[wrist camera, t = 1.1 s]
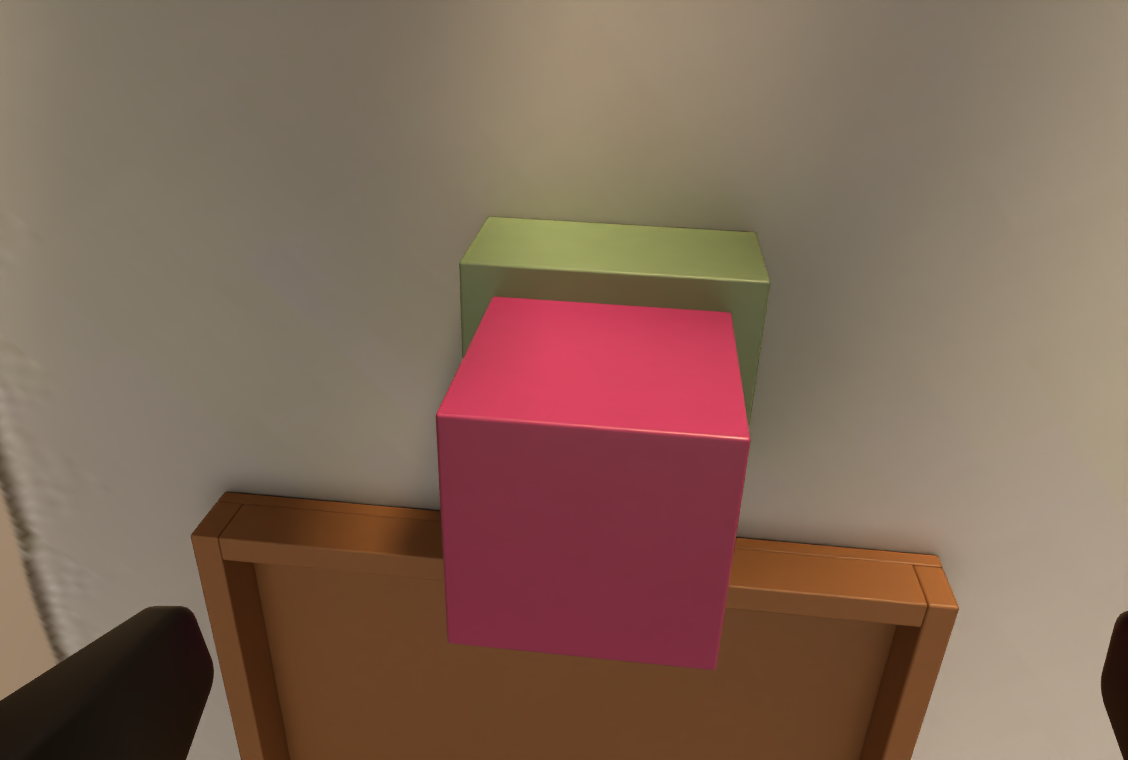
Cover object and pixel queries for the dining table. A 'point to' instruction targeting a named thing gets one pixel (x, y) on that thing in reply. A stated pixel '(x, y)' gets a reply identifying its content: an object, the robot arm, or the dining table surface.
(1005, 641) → the dining table surface
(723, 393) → the mulberry block
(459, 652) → the tray
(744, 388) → the green rectangular block
